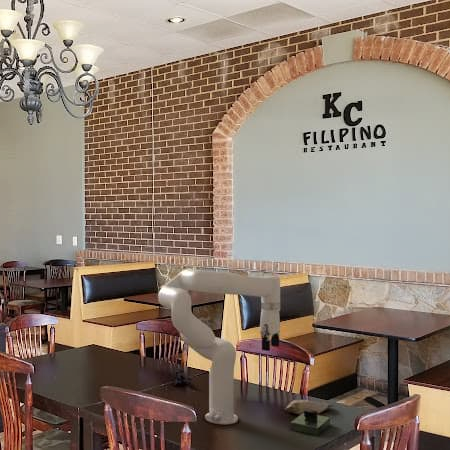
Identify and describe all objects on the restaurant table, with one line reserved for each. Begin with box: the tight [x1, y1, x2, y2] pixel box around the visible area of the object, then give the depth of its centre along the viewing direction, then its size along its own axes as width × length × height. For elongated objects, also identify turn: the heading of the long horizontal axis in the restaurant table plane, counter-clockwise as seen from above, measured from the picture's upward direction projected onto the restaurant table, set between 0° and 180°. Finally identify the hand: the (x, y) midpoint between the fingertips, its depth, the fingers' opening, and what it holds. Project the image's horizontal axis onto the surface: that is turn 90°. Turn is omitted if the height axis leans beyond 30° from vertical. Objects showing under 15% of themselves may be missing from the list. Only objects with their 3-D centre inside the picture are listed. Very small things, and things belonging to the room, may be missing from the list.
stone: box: [284, 399, 335, 416], centre depth 252 cm, size 21×6×10 cm
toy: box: [172, 368, 192, 387], centre depth 293 cm, size 6×8×15 cm
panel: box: [290, 413, 331, 437], centre depth 233 cm, size 14×10×3 cm
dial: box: [304, 408, 318, 422], centre depth 233 cm, size 5×5×4 cm
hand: (270, 348), depth 250 cm, fingers open, 9 cm apart
